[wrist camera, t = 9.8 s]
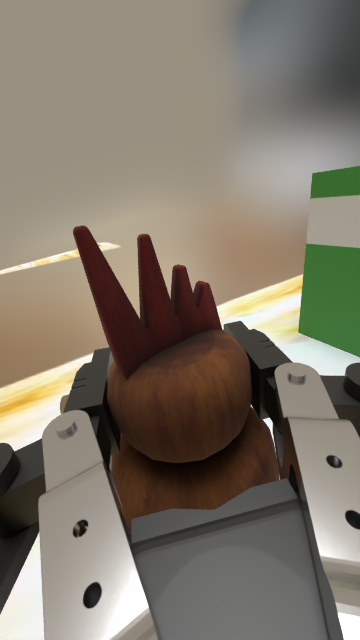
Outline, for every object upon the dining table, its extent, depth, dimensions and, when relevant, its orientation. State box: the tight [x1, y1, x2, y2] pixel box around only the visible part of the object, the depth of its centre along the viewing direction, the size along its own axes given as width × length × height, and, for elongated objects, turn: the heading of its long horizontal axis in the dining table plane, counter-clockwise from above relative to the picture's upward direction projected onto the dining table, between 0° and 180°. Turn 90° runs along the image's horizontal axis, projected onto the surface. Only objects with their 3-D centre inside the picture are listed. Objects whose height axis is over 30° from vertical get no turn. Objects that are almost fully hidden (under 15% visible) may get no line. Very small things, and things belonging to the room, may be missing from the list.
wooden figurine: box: [73, 226, 279, 528], centre depth 10 cm, size 7×6×15 cm
